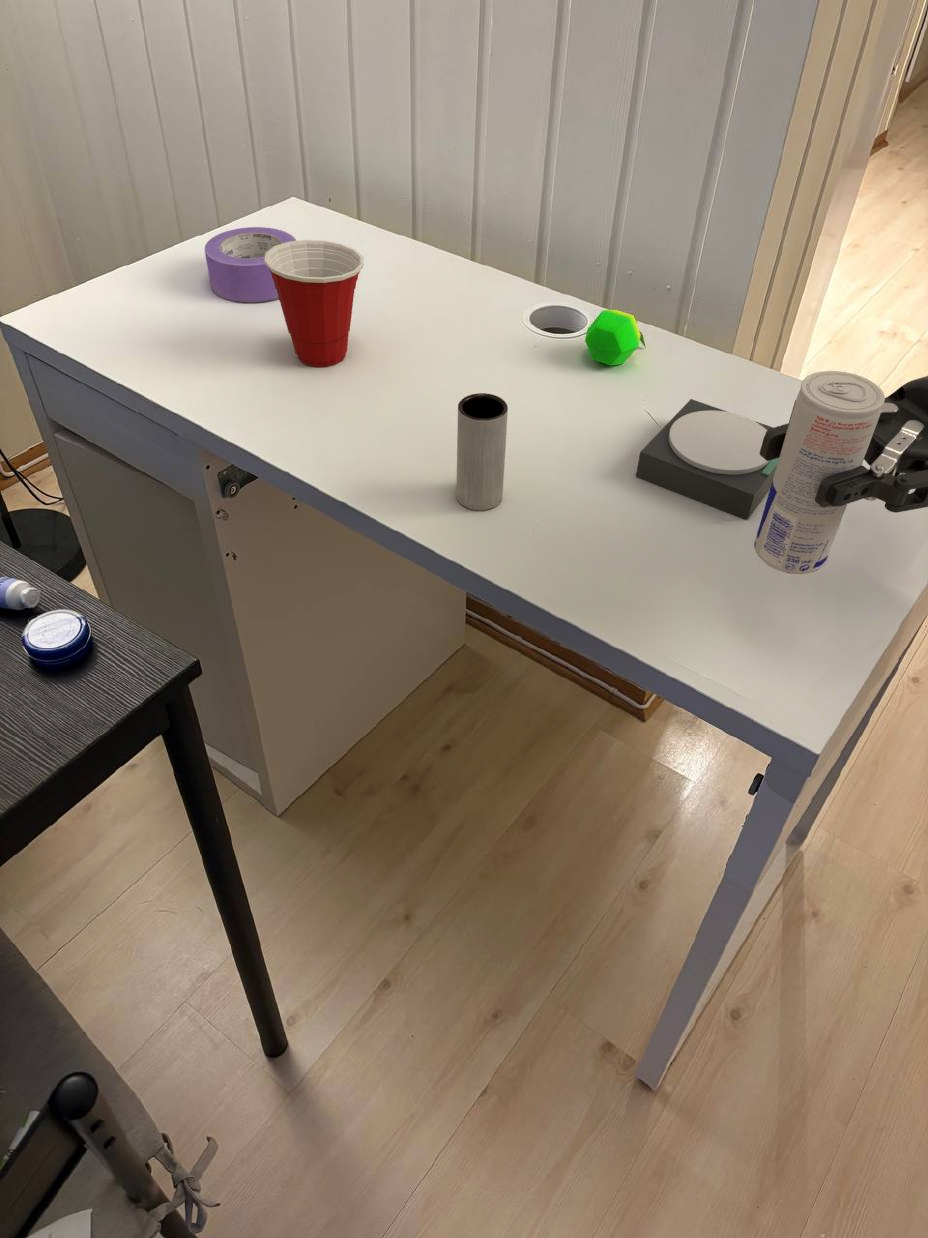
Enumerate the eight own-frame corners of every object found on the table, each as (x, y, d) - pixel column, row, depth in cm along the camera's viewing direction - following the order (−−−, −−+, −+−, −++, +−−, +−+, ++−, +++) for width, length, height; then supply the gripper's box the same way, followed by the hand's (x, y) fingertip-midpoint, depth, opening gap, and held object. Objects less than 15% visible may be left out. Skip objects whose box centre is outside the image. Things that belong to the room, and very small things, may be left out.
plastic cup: (387, 358, 112) (383, 259, 103) (310, 388, 107) (299, 286, 98) (335, 322, 118) (327, 225, 109) (259, 350, 113) (245, 250, 104)
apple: (606, 313, 105) (641, 281, 111) (564, 335, 110) (600, 303, 115) (637, 368, 107) (670, 335, 113) (595, 388, 112) (629, 355, 118)
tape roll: (210, 265, 128) (204, 227, 125) (298, 259, 130) (294, 223, 126) (210, 306, 120) (203, 267, 117) (304, 300, 122) (300, 262, 118)
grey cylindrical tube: (502, 511, 92) (508, 420, 85) (455, 510, 92) (457, 419, 85) (502, 483, 95) (507, 393, 88) (456, 482, 95) (458, 391, 88)
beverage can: (840, 568, 75) (904, 401, 64) (779, 586, 73) (835, 418, 62) (797, 526, 78) (851, 361, 68) (739, 541, 77) (785, 376, 66)
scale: (791, 460, 99) (801, 431, 96) (747, 520, 92) (755, 490, 89) (685, 422, 104) (692, 393, 101) (635, 476, 97) (640, 446, 94)
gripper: (913, 329, 76) (741, 376, 70) (1064, 421, 67) (879, 483, 61) (883, 410, 81) (720, 460, 76) (1019, 506, 72) (845, 570, 67)
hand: (792, 470), depth 68 cm, fingers closed on beverage can, 5 cm apart
